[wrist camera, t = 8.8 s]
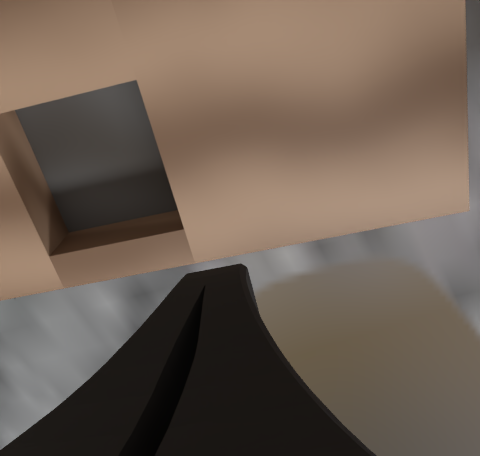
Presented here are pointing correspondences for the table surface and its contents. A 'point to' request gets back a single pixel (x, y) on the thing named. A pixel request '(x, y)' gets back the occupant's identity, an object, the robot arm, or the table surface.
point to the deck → (220, 129)
